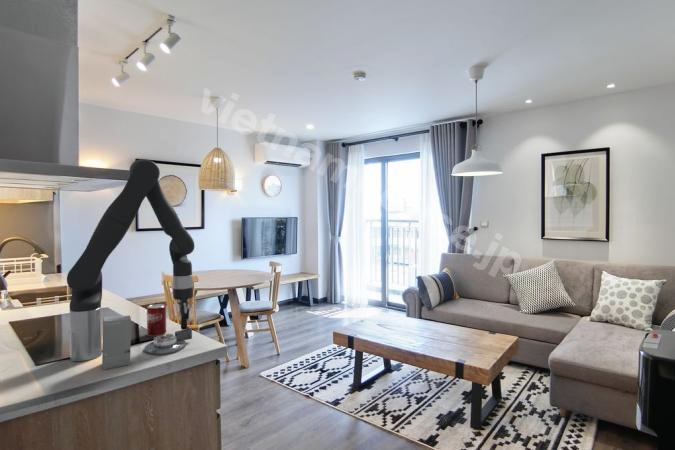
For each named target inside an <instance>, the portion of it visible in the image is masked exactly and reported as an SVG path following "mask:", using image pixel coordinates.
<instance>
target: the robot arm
mask: <svg viewBox="0 0 675 450" xmlns="http://www.w3.org/2000/svg"><path fill="white" fill-rule="evenodd" d="M160 175H161V174H160V168H159V166H158V164H157V163H156V162H154V161H152V160H149V159H143V158H142V159H141V158H140V159H137V160H134V161H133V162H132V163H131V165H130V167H129V177H128V179H127V182H126V183H125V185H124V187H123V189H122V190H121V192H120V193H119V194H118V196H117V197H115V199H114V200H113V201H112V202H111V204H109V206H108V207H107V208H106V210H105V212H104V213H103V215H102V217H101V218H100V220H99V221H98V223H97V226H96V227H95V229H94V231H93V232H92V235H91V236H90V239H89V241H88V243H87V246H86V248H85V250H84V251H83V252H82V253H81V255H80V256H79V258H78V259H77V261H76V262H75V263H74V265H72V267H71V268H70V270H69V271H68V272H67V275H66V283H67V285H68V287H69V288H70V289H71V297H70V302H69V330H68V333H69V335H68V336H69V358H70V361H71V363H74V362H85V361H89V360H90V361H91V360H93V359H96V358H99V357H100V356H102V343H103V337H102V299H103V272H102V269H103V268H104V266H105V263H106V261H107V259H108V258H109V256H110V255H111V254H112V253H113V251H115V249H116V248H117V247H118V245H119V244H120V243H121V242H122V241H123V239H124V238H125V235H127V232H128V230H129V229H130V227H131V226H132V224H133V222H134V220H135V218H136V215H137V214H138V212H139V210H140V207H141V205H142V203H143V201H144V200H145V198H146V199H147V201H148V202H149V204H150V207H151V208H152V209H151V210H152V211H153V212H154V216H156V219H157V221H158V223H159V225H160V227H161V229H162V231H163V233H165V235H167V236H169V237H170V238H171V239H170V242H169V246H168V247H169V248H168V249H169V250H168V251H169V256H170V258H171V262H172V298H173V299H174V300H176V301H178V302H177V309H178V316H179V320H180V329H181V330H185V329H186V328H187V327H188V319H189V315H190V309H189V308H190V303H189V301H188V300H190V299H192V298H193V297H194V279H193V265H192V262H191V260H189V259H188V255H190V254H192V253H193V252H194V250H195V241H194V239H193V237H192V235H191V234H190V233H189V232H188V231H187V229H186V228H185V226H183V224H182V222H181V220H180V217H179V215H178V214H177V212H176V210H175V208H174V207H173V205H172V204H171V202H170V201H169V199H168V198H167V196H166V194H165V193H164V191H163V189H162V187H161V184H160V182H159V179H160Z"/></svg>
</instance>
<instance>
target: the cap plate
mask: <svg viewBox="0 0 675 450" xmlns="http://www.w3.org/2000/svg"><path fill="white" fill-rule="evenodd" d="M185 348H186V340H184V341H180V342H177V344H176V345H175V346H173V347H169V348H163V349H159V348H155V347H154V341H152V342H149V343H147V344H146V345H145V346H144V353H145V354H147V355H149V356H163V355H170V354H174V353H178V352H180V351H182V350H183V349H185Z"/></svg>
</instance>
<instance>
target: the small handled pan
mask: <svg viewBox="0 0 675 450" xmlns="http://www.w3.org/2000/svg"><path fill="white" fill-rule="evenodd" d="M192 338H193V327H192V326H187V328H186V329H184V330H182V329H181V330H176V331H175V332H174V333H165V335H162V336H156V337H153V342H154V347H155V348H159V349H163V348H169V347H173V346H175V345H176V344H177V342H180V341H188V340H191V339H192Z"/></svg>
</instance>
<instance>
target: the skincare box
mask: <svg viewBox="0 0 675 450" xmlns="http://www.w3.org/2000/svg"><path fill="white" fill-rule="evenodd" d="M131 329H132V317H131V315H120V316H119V315H118V316H117V315H116V316H109V317H108V316H107V317H103V318H102V354H101V361H102V363H101V364H102V365H101V366H102V370H108V369H114V368H119V367H123V366H124V367H125V366H130V365H131V344H132V343H131V341H132V340H131V337H132V336H131V333H132V332H131V331H132V330H131Z"/></svg>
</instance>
